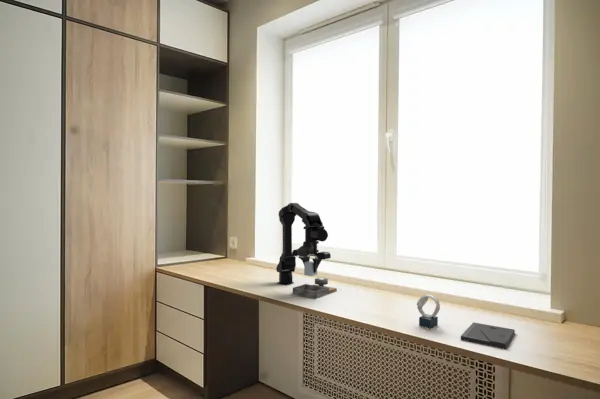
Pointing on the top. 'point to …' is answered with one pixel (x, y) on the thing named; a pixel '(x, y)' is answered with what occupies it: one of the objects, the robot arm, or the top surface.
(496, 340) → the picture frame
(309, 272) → the grey-blue block
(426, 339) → the top surface
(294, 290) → the tray
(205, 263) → the top surface
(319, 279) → the wheel
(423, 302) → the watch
